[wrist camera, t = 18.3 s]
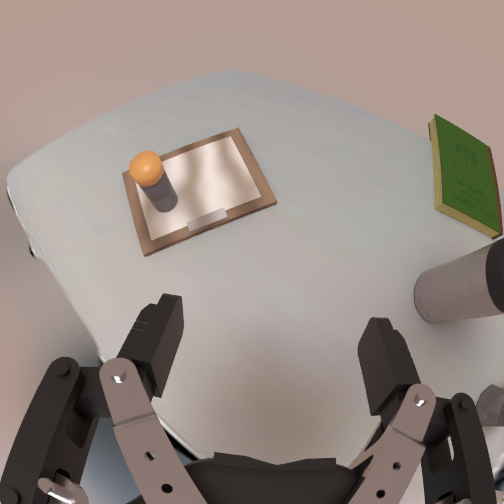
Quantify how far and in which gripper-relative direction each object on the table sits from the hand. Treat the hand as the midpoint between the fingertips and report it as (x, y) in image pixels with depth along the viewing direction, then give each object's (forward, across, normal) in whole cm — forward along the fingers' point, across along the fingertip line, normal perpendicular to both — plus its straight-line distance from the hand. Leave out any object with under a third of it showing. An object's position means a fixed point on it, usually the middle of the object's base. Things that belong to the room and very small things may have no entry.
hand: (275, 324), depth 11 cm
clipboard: (+35, +12, +6) cm, 37 cm away
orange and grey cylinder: (+31, +16, +8) cm, 36 cm away
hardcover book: (+45, -43, -3) cm, 62 cm away
